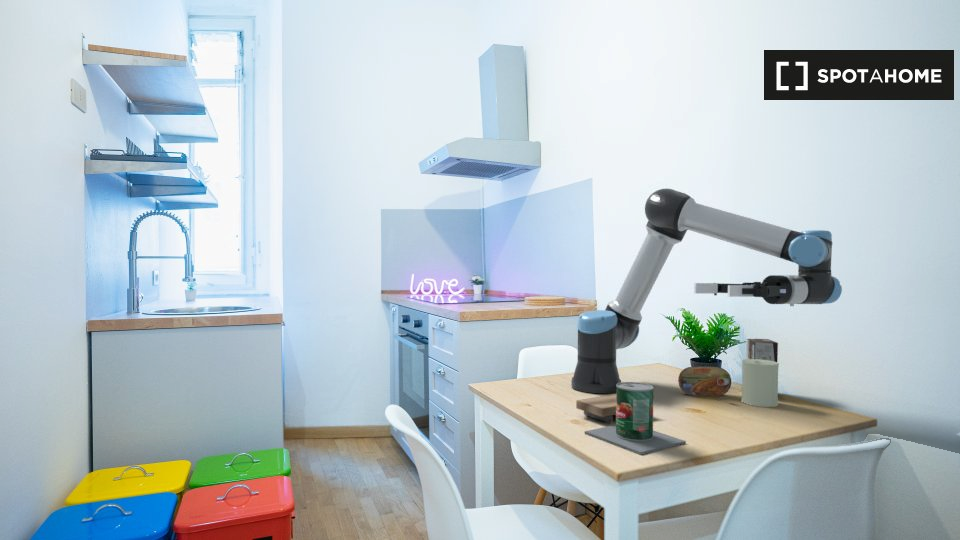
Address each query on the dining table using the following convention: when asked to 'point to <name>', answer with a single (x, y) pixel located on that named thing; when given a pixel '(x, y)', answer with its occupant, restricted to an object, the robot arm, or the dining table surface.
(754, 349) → the coffee box
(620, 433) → the canned tomato
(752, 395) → the pale green cup
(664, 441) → the flat gray pad
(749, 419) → the dining table surface
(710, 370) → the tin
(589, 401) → the wooden serving board
